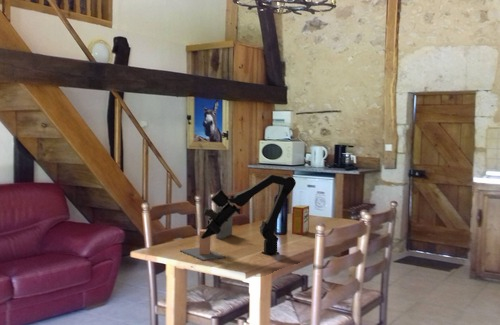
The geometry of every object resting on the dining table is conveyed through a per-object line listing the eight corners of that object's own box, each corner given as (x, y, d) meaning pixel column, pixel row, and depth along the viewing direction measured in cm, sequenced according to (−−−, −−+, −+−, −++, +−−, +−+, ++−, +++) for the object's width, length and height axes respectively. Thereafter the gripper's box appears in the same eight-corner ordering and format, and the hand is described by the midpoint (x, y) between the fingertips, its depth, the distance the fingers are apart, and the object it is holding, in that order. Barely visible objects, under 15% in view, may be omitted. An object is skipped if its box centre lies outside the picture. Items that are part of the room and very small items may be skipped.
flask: (223, 233, 307) (224, 198, 306) (233, 234, 305) (233, 199, 304) (213, 238, 293) (213, 202, 292) (223, 239, 291) (223, 202, 290)
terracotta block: (210, 251, 259) (210, 229, 258) (209, 254, 254) (210, 231, 253) (199, 251, 258) (199, 229, 258) (199, 254, 253) (199, 231, 253)
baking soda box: (298, 230, 319) (299, 204, 318) (308, 232, 315) (309, 205, 314) (291, 233, 310) (292, 206, 309) (302, 234, 307) (302, 207, 306)
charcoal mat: (225, 257, 251) (225, 256, 251) (203, 260, 243) (203, 259, 243) (201, 248, 268) (201, 247, 268) (180, 251, 261) (180, 250, 261)
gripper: (213, 199, 264) (190, 221, 264) (213, 204, 245) (189, 228, 245) (229, 215, 265) (206, 237, 265) (230, 221, 247) (206, 245, 246)
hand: (201, 236), depth 255 cm, fingers open, 6 cm apart
